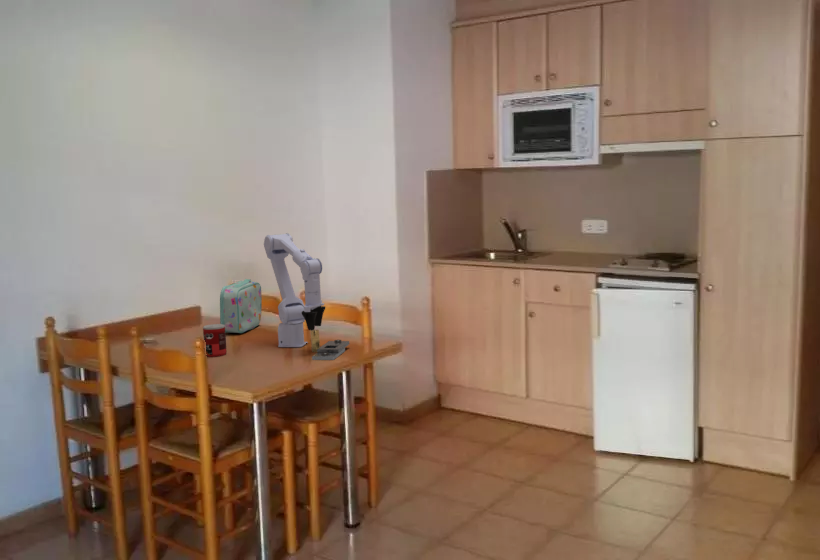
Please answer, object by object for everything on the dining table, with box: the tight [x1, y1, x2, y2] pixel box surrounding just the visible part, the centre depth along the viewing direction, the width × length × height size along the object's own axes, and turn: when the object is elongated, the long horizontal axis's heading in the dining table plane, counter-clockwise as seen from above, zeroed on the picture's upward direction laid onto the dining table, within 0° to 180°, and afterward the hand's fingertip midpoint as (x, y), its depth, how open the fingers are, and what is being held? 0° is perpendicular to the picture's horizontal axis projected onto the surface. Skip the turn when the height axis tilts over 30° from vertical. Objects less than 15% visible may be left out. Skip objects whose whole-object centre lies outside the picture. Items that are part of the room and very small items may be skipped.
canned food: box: [202, 323, 228, 358], centre depth 303 cm, size 8×8×11 cm
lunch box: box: [219, 278, 263, 334], centre depth 350 cm, size 27×10×21 cm, turn 169°
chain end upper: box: [316, 339, 350, 353], centre depth 301 cm, size 8×14×2 cm, turn 168°
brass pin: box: [310, 329, 321, 353], centre depth 302 cm, size 3×3×8 cm
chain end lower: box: [311, 347, 346, 361], centre depth 295 cm, size 8×14×2 cm, turn 168°
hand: (314, 328), depth 302 cm, fingers open, 7 cm apart
